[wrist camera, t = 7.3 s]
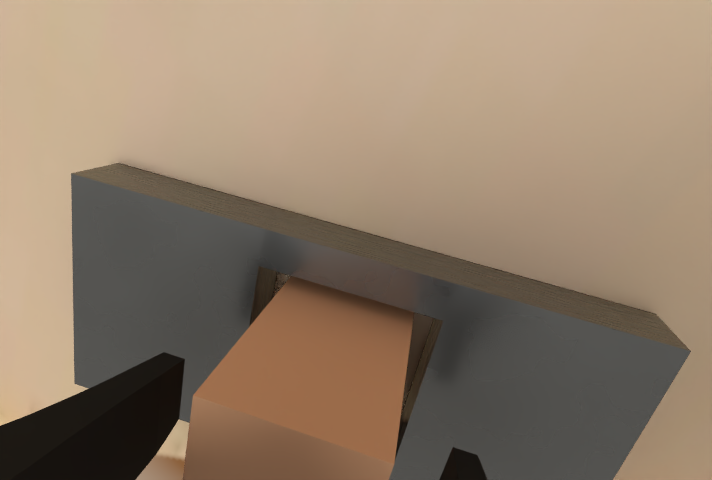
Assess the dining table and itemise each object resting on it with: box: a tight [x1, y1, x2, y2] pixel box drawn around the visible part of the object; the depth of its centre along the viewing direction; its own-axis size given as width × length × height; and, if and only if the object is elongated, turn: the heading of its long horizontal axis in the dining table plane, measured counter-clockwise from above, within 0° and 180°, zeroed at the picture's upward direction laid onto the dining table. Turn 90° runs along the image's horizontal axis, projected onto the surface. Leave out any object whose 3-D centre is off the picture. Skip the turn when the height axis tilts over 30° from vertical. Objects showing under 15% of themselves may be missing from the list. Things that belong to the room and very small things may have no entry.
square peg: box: [183, 276, 414, 480], centre depth 12 cm, size 4×4×7 cm
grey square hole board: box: [71, 163, 691, 480], centre depth 14 cm, size 18×8×2 cm, turn 77°
